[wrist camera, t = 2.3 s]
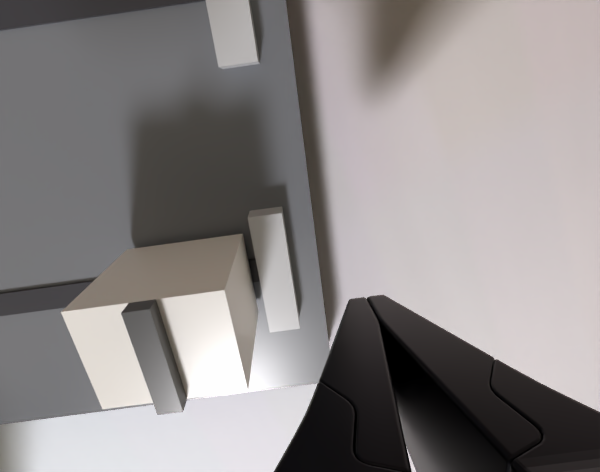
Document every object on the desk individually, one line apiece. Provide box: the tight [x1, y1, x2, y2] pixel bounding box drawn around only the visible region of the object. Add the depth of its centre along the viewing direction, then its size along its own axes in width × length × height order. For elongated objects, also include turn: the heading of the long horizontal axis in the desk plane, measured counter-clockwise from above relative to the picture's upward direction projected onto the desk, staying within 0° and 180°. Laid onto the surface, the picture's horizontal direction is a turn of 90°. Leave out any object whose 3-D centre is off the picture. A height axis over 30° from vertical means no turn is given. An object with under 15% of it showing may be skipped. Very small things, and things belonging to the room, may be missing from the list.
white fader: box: [61, 234, 259, 415], centre depth 10 cm, size 3×4×4 cm
